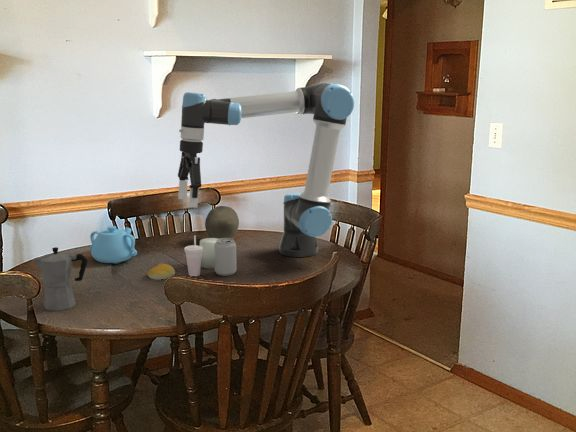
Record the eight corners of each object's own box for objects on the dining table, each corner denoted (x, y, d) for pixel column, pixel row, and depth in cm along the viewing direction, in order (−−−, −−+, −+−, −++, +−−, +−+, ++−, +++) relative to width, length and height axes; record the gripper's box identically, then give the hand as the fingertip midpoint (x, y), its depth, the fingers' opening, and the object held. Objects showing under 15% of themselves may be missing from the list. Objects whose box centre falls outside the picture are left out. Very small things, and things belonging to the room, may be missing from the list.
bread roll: (143, 279, 212) (143, 267, 211) (158, 271, 220) (157, 260, 219) (164, 282, 209) (164, 270, 208) (178, 274, 217) (178, 263, 216)
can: (233, 277, 214) (232, 243, 211) (211, 275, 215) (211, 242, 212) (239, 270, 221) (238, 237, 218) (218, 269, 222) (218, 236, 219)
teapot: (78, 263, 228) (75, 229, 225) (109, 248, 246) (107, 217, 243) (126, 268, 222) (124, 234, 219) (154, 253, 241) (152, 221, 238)
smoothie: (200, 278, 212) (199, 238, 209) (182, 277, 213) (181, 237, 210) (206, 272, 218) (205, 233, 215) (188, 271, 219) (187, 232, 216)
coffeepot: (33, 312, 182) (27, 253, 178) (39, 301, 191) (34, 244, 186) (88, 309, 185) (84, 250, 180) (92, 298, 194) (88, 241, 189)
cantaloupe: (197, 243, 253) (196, 207, 250) (220, 236, 265) (219, 201, 261) (225, 249, 246) (224, 212, 242) (246, 241, 257) (246, 205, 254)
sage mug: (220, 259, 233) (220, 236, 231) (230, 265, 227) (230, 241, 225) (196, 263, 228) (195, 239, 226) (206, 269, 221) (205, 245, 219)
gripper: (171, 135, 217) (167, 195, 221) (190, 144, 195) (186, 210, 199) (192, 136, 220) (188, 195, 225) (214, 145, 198) (209, 211, 203)
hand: (187, 203), depth 212 cm, fingers open, 13 cm apart
